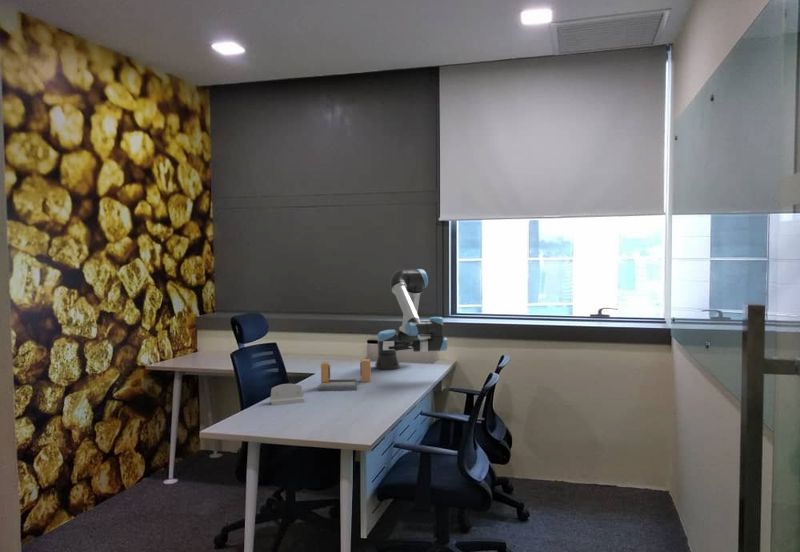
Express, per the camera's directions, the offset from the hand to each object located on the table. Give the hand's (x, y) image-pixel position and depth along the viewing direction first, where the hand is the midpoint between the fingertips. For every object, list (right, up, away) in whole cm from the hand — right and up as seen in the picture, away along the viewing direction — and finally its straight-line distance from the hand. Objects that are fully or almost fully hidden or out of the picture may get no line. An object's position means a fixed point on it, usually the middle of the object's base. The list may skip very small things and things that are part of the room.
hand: (382, 345), depth 325 cm
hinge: (-47, -23, -40) cm, 66 cm away
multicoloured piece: (-24, -21, -13) cm, 34 cm away
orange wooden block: (-10, -20, +2) cm, 23 cm away
